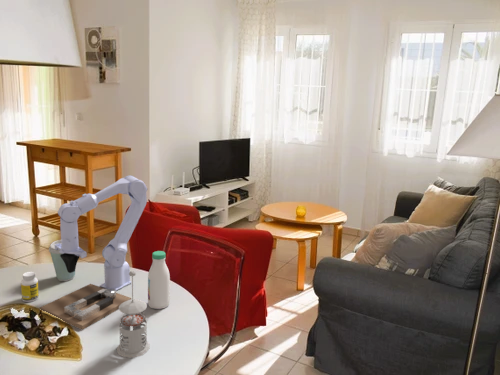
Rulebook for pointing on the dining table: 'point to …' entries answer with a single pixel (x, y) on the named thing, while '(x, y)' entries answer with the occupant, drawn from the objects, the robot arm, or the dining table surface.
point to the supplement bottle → (29, 287)
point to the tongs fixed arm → (93, 309)
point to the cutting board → (59, 304)
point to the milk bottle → (158, 282)
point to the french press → (133, 340)
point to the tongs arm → (89, 300)
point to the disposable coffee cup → (59, 263)
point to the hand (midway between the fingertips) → (71, 271)
